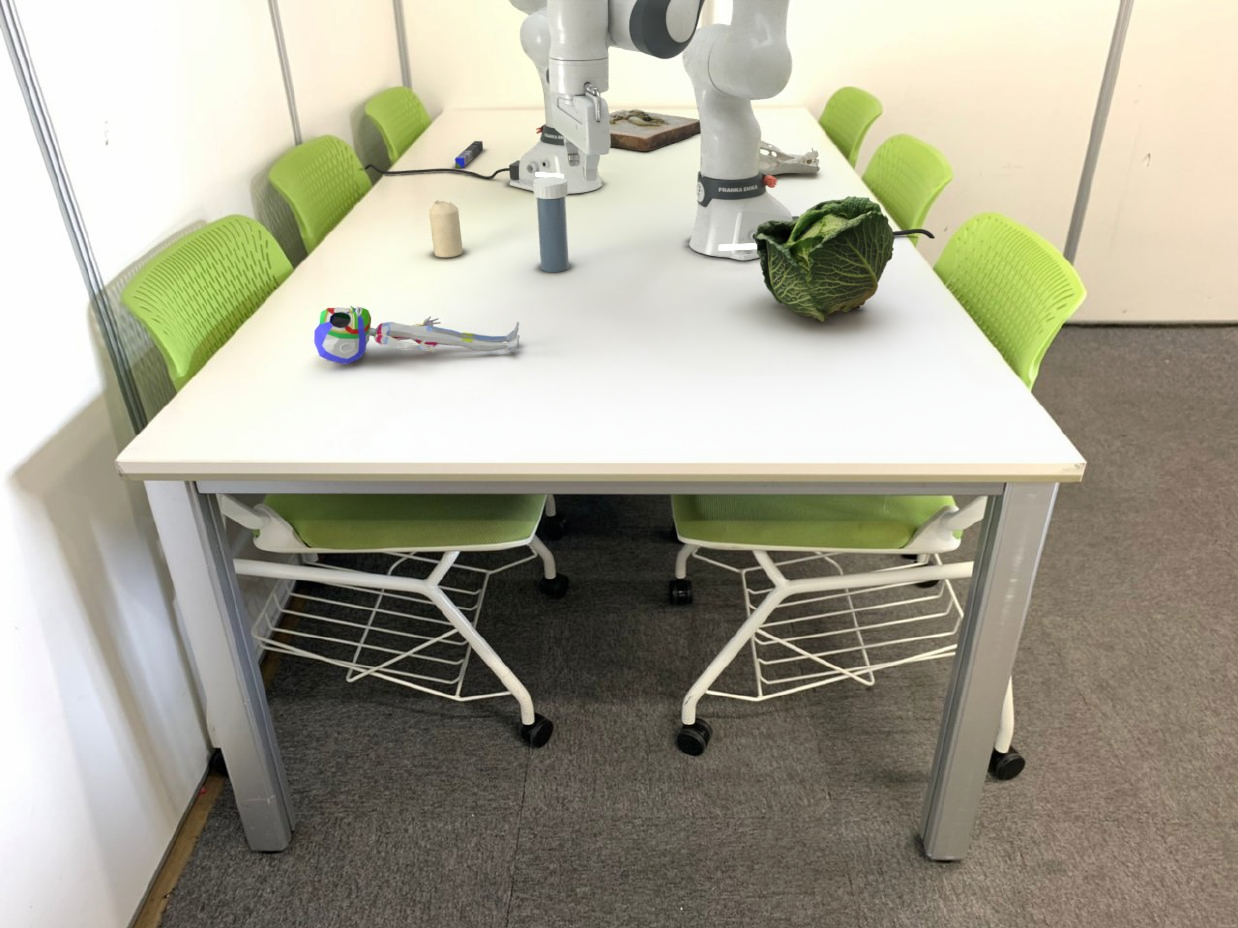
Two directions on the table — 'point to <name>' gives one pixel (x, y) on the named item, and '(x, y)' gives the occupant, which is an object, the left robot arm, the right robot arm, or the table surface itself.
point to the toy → (392, 335)
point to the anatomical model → (787, 161)
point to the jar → (553, 234)
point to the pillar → (468, 154)
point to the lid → (550, 187)
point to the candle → (445, 229)
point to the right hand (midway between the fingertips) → (581, 172)
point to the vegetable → (826, 256)
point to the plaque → (648, 129)
